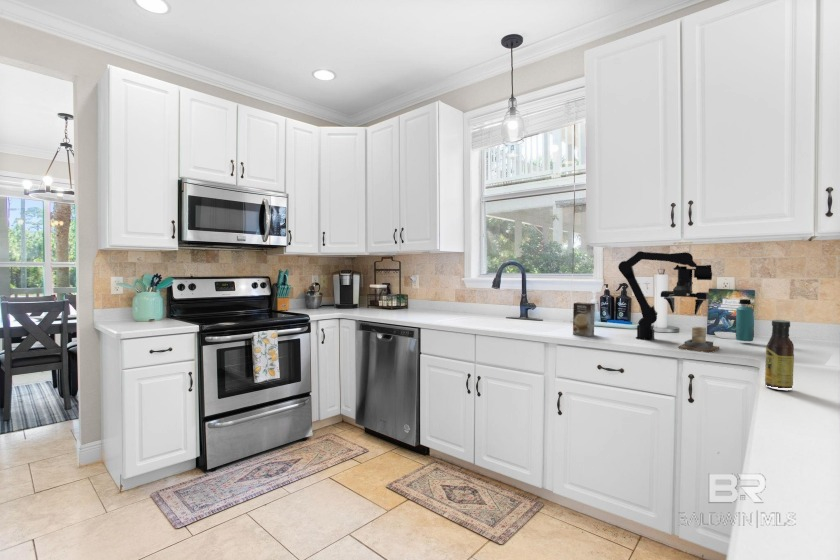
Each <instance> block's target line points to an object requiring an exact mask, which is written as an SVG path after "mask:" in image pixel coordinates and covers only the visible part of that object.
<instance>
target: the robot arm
mask: <svg viewBox="0 0 840 560" xmlns="http://www.w3.org/2000/svg"><path fill="white" fill-rule="evenodd" d="M693 258H694V257H693V255H692V254H691V253H690V252H688V251H687V252H685V251H684V252H674V253H661V252H650V251H637V252H636V253H635V254H634V255H632V256H631V257H629V258H628V259H626V260H623V261H620V262H619V263H618V266H617V268H618V270H619V272H620V273H621V274H622V276H623V277H624V278H625V280H626V281H627V283H628V285H629V287H630V289H631V290H632V293H633V295H634V297H635V299H636V301H637V303H638V306H639V308H640V312H641V315H642V316H641V317H642V318H640V319H639V320H638V324H637V326H636V327H637V328H636V330H637V331H636V336H635V339H640V340H646V341H651V340H654V339H655V329H654V325H653V324H655V323H656V322H657V319H658V312H657V311H656V309H655V306H654V305H652V306H651V305H650V304H649V302H648V300H647V299H646V295H645V294H644V292H643V291H642V288H641V286H640V284H639V283H638V280H637V278H636V275H635V271H634V266H635V265H636V264H638V263H639V262H640V261H642V260H646V261H647V260H648V261H660V262H662V261H663V262H669V263H675V264H676V265H675V267H673V270H674V271H675V270H676V271H677V282H676V285H675V286H674V287H673V289H672V290H662V291H661V292H660V298H663V299H664V300H666V302H667V303H668V305H669V307H670V310H671V313H673V314H674V313H675V297H680V298H696V299H695V300H694V301H695V302H694V303H695V306H694V315H697V314H698V311H699V309H700V308H701V306H702V304H703V302H704V301H707V300H708V299H711V296H710V293H709V292H705V291H699V292H696V293H694V292H693V284H694V283H693V278H695V279H696V280H697V281H712V278H713V272H712V271H713V270H712V265H711V264H706V265H697V263H696V262H695V261H694V259H693ZM682 265H683V266H682ZM687 266H688V267H691V268H688V267H687Z"/></svg>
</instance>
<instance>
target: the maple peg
mask: <svg viewBox="0 0 840 560" xmlns="http://www.w3.org/2000/svg"><path fill="white" fill-rule="evenodd" d="M706 332H707V328H706V327H702V326H693V327H692V328H691V339H692V342H696V343H704V344H706V341H707V339H706V338H707V333H706Z"/></svg>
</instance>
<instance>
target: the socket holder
mask: <svg viewBox="0 0 840 560" xmlns="http://www.w3.org/2000/svg"><path fill="white" fill-rule="evenodd" d="M677 348H679V350H686V349H687V350H688V351H693V350H695V352H701V351H703V353H709V352H712V353H714V352H716V351H718V350H720V346H718V345H714V341H709V340H706V344H704V343H696V342H692V338H691V339H688V340H685V341H684V343H683V344H681V345H678V347H677ZM717 349H718V350H717ZM687 350H686V351H687ZM715 350H716V351H715ZM713 351H714V352H713Z"/></svg>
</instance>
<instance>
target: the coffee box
mask: <svg viewBox="0 0 840 560" xmlns="http://www.w3.org/2000/svg"><path fill="white" fill-rule="evenodd" d="M595 305H596V304H595V303H593V302H580V301H579V302H574V303H573V305H572V306H573V307H572V309H573V311H572V312H573V313H572V316H573V317H572V319H573V321H572V335H576V336H577V335H578V336H585V337H591V336H594V335H595V314H596V313H595V312H596V309H595V308H596V306H595Z"/></svg>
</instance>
